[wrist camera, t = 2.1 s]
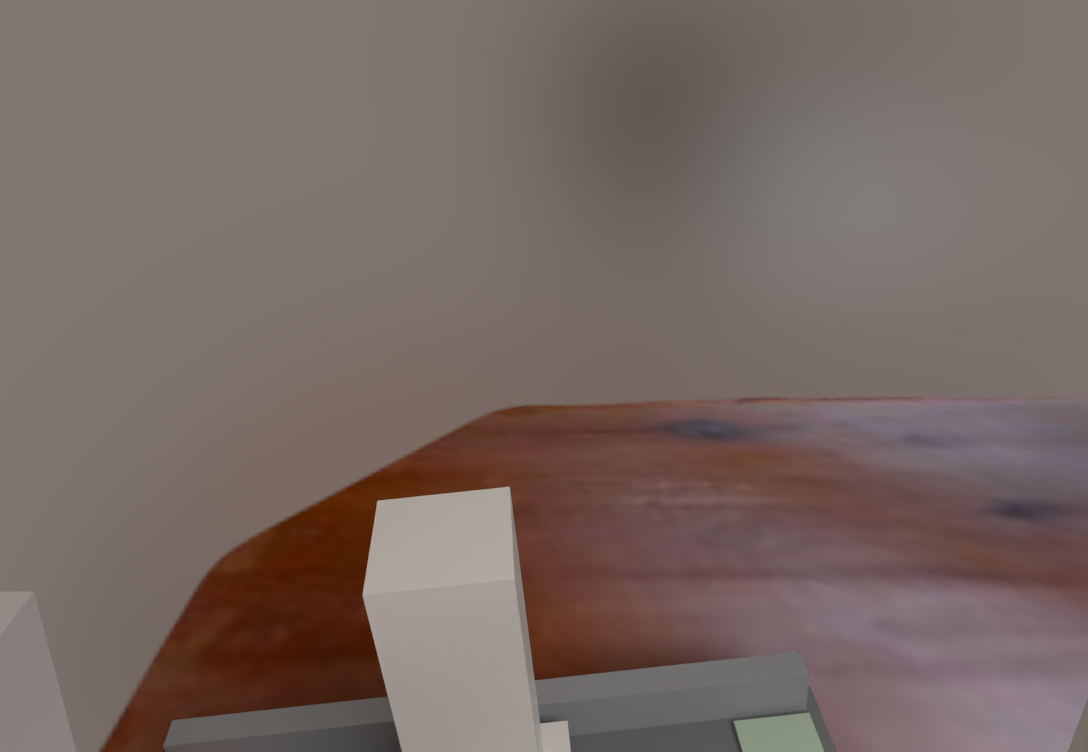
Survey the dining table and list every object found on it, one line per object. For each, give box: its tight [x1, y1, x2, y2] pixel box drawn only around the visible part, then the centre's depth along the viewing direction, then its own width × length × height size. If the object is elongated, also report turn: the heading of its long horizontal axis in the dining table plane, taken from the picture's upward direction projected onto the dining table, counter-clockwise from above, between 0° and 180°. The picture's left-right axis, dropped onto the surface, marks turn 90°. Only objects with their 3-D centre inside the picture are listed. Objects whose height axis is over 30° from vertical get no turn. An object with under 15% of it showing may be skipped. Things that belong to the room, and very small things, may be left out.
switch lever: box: [363, 487, 571, 752], centre depth 28 cm, size 6×6×13 cm
